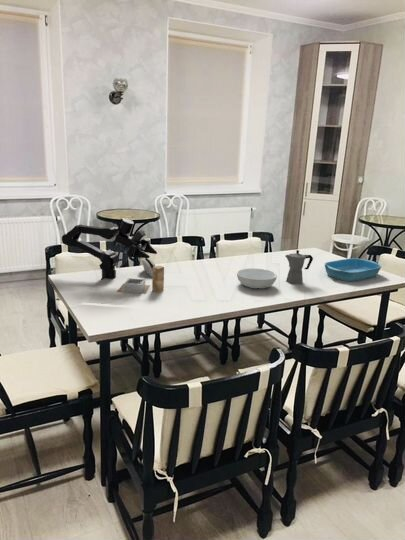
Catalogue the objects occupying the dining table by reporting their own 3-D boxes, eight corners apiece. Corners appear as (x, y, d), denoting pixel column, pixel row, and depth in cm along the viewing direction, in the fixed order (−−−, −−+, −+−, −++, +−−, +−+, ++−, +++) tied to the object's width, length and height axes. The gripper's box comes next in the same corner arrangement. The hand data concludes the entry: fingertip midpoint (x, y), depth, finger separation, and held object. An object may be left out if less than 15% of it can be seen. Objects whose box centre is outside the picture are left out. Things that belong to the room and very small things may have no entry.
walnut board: (116, 293, 212) (116, 291, 212) (123, 285, 225) (123, 283, 225) (145, 295, 212) (145, 293, 212) (150, 287, 224) (150, 285, 224)
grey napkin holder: (162, 277, 241) (156, 261, 237) (154, 281, 239) (148, 264, 235) (152, 269, 255) (147, 253, 251) (145, 272, 254) (139, 257, 250)
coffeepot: (284, 283, 240) (287, 251, 235) (280, 278, 249) (284, 247, 244) (312, 284, 241) (316, 252, 236) (307, 279, 250) (311, 248, 245)
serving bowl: (252, 277, 249) (253, 265, 247) (283, 287, 235) (284, 274, 233) (228, 284, 235) (228, 272, 233) (258, 295, 221) (260, 282, 219)
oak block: (152, 292, 216) (152, 267, 213) (157, 290, 220) (158, 265, 216) (157, 294, 215) (158, 268, 211) (163, 292, 218) (164, 266, 215)
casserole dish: (346, 285, 244) (348, 272, 242) (315, 274, 262) (317, 262, 260) (386, 276, 264) (388, 265, 262) (355, 267, 282) (357, 256, 280)
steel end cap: (124, 292, 212) (124, 283, 211) (128, 286, 220) (128, 278, 219) (141, 293, 212) (141, 284, 210) (145, 288, 220) (145, 279, 218)
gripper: (123, 230, 214) (151, 245, 211) (139, 224, 231) (165, 237, 228) (116, 250, 218) (143, 265, 215) (133, 242, 235) (158, 256, 232)
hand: (153, 255), depth 223 cm, fingers open, 9 cm apart
